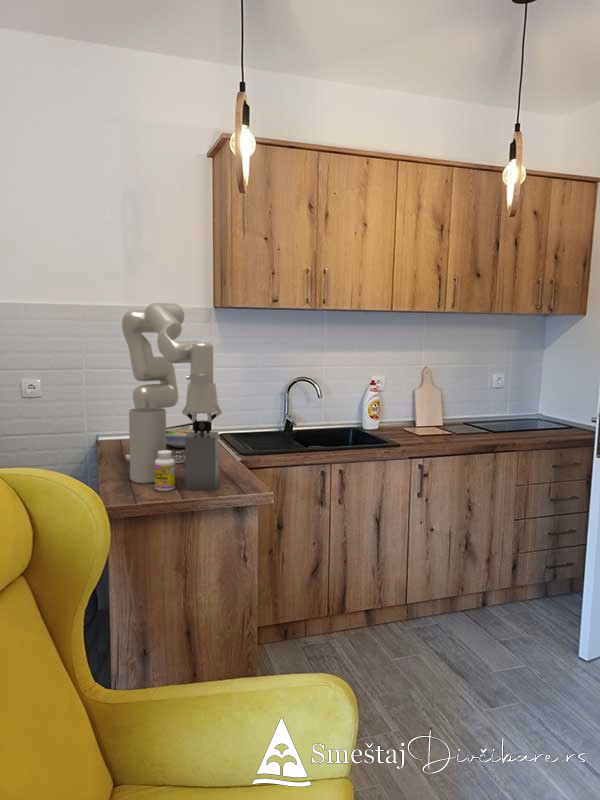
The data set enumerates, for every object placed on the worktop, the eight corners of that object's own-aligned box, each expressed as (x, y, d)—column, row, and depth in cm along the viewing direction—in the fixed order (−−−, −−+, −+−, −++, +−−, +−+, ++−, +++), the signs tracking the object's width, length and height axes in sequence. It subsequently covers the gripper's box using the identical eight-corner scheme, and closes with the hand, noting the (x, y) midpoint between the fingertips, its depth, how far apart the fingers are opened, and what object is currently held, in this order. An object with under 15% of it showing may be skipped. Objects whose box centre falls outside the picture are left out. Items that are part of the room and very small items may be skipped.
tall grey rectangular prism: (185, 489, 201) (185, 437, 199) (190, 479, 214) (190, 430, 212) (215, 490, 202) (215, 437, 199) (218, 479, 215) (219, 430, 212)
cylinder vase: (134, 474, 219) (133, 407, 216) (169, 475, 220) (168, 407, 217) (126, 484, 207) (125, 412, 204) (162, 484, 208) (162, 413, 204)
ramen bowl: (175, 454, 253) (174, 435, 252) (142, 446, 268) (142, 428, 267) (219, 445, 272) (219, 428, 271) (187, 438, 287) (187, 422, 286)
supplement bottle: (150, 490, 200) (150, 452, 198) (162, 485, 206) (161, 448, 205) (168, 492, 198) (167, 454, 196) (178, 487, 204) (178, 450, 202)
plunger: (190, 485, 203) (189, 423, 200) (193, 479, 210) (192, 419, 207) (211, 485, 203) (211, 423, 200) (213, 479, 210) (213, 419, 207)
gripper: (175, 380, 198) (175, 434, 200) (225, 380, 198) (225, 435, 201) (179, 377, 205) (179, 430, 207) (227, 378, 206) (227, 431, 208)
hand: (202, 432), depth 204 cm, fingers closed on plunger, 3 cm apart
